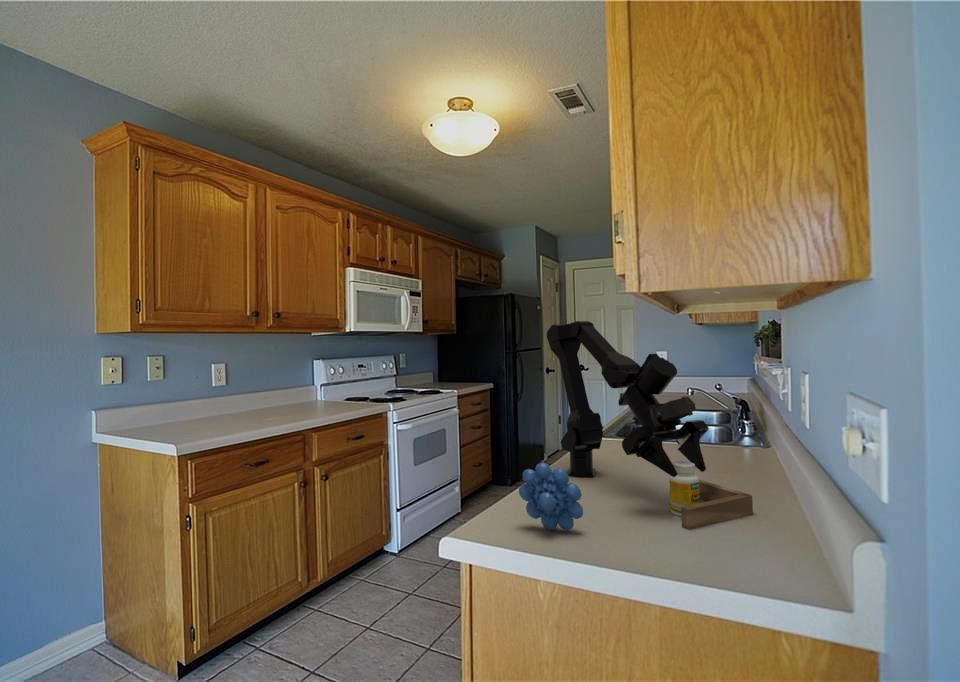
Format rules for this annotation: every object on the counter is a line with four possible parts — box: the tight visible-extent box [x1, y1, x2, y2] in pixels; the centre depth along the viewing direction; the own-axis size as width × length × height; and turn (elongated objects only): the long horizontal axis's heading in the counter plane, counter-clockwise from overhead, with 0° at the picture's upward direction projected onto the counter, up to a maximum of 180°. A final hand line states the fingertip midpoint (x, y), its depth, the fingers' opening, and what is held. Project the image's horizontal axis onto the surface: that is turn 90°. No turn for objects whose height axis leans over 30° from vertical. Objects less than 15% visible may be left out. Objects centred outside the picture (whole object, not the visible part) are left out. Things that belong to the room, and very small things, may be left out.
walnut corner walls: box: [681, 479, 754, 531], centre depth 97 cm, size 16×17×4 cm
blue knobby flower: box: [518, 462, 584, 531], centre depth 87 cm, size 12×7×12 cm, turn 70°
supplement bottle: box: [668, 460, 701, 518], centre depth 95 cm, size 5×5×10 cm
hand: (690, 473), depth 93 cm, fingers open, 7 cm apart
